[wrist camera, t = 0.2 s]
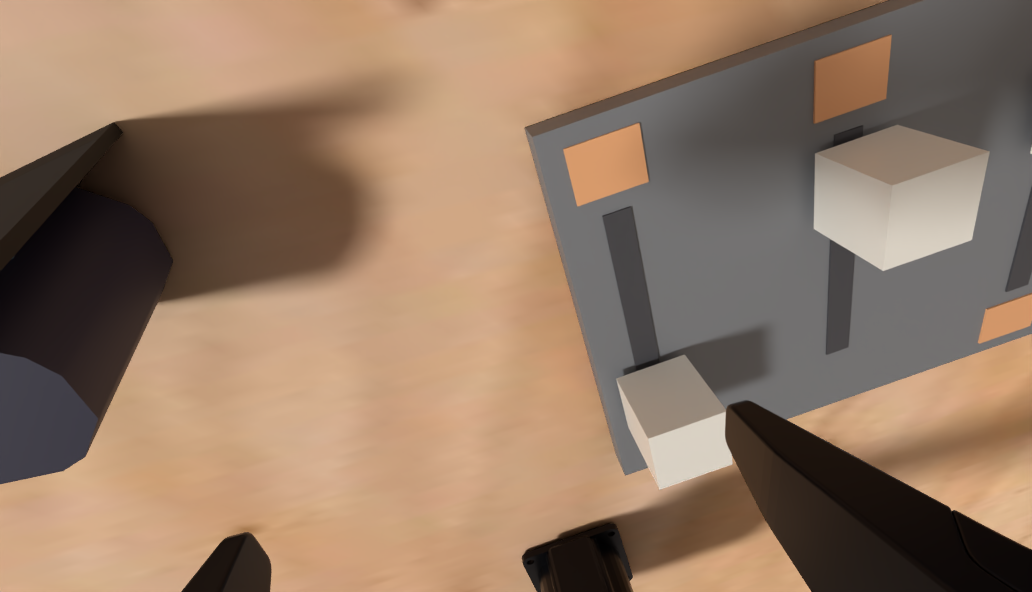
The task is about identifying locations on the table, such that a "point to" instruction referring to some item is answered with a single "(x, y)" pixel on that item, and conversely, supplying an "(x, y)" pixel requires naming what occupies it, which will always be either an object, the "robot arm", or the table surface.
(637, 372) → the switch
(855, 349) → the switch board
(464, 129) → the table surface
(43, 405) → the speaker
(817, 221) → the switch mid
